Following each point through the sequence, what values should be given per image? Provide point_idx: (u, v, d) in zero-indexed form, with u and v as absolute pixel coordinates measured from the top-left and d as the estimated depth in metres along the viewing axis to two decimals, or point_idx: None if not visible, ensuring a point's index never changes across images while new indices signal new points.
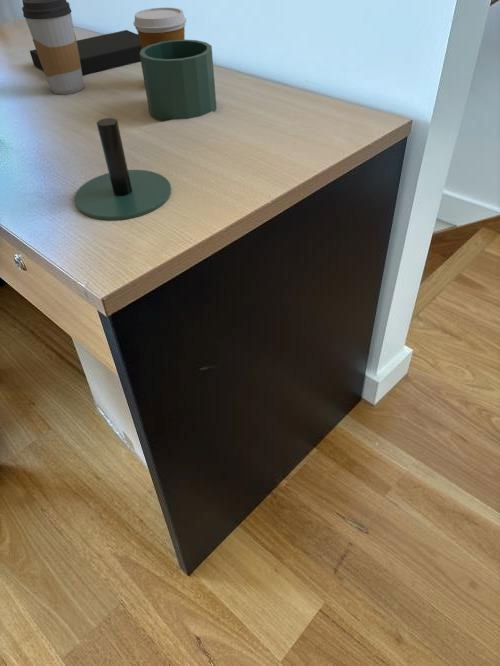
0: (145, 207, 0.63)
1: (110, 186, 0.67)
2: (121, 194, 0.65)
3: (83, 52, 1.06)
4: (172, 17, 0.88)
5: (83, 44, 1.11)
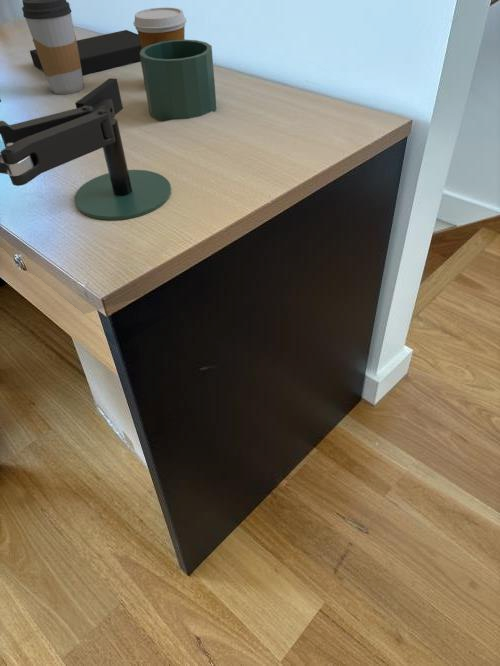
0: (145, 207, 0.63)
1: (110, 186, 0.67)
2: (121, 194, 0.65)
3: (83, 52, 1.06)
4: (172, 17, 0.88)
5: (83, 44, 1.11)
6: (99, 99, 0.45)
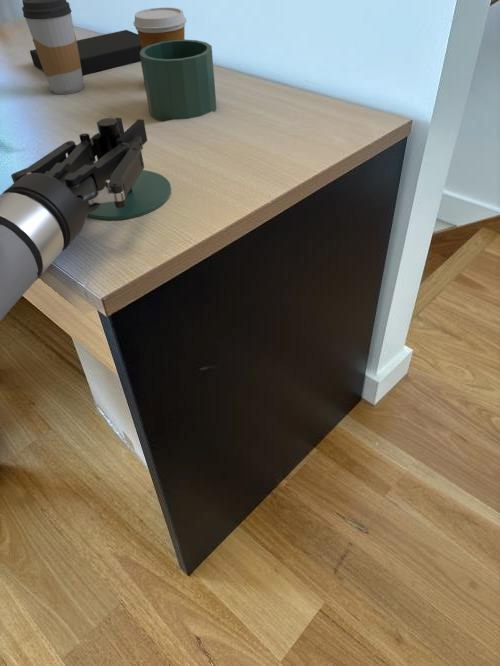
0: (145, 207, 0.63)
1: None
2: None
3: (83, 52, 1.06)
4: (172, 17, 0.88)
5: (83, 44, 1.11)
6: (132, 136, 0.62)
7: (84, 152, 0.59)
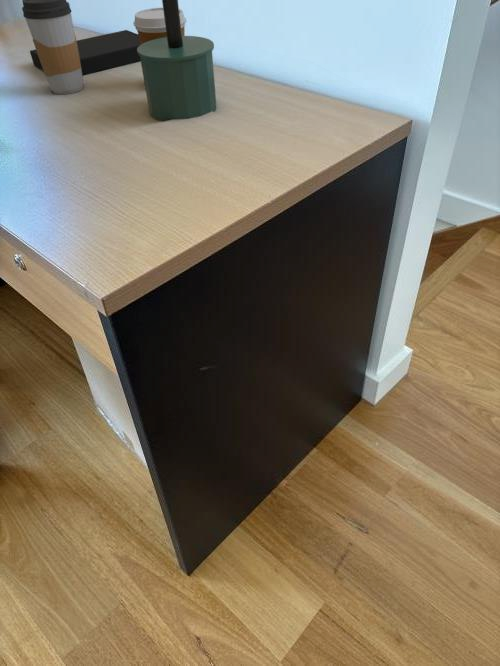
0: (195, 52, 0.79)
1: (164, 44, 0.83)
2: (175, 46, 0.81)
3: (83, 52, 1.06)
4: None
5: (83, 44, 1.11)
6: None
7: None
